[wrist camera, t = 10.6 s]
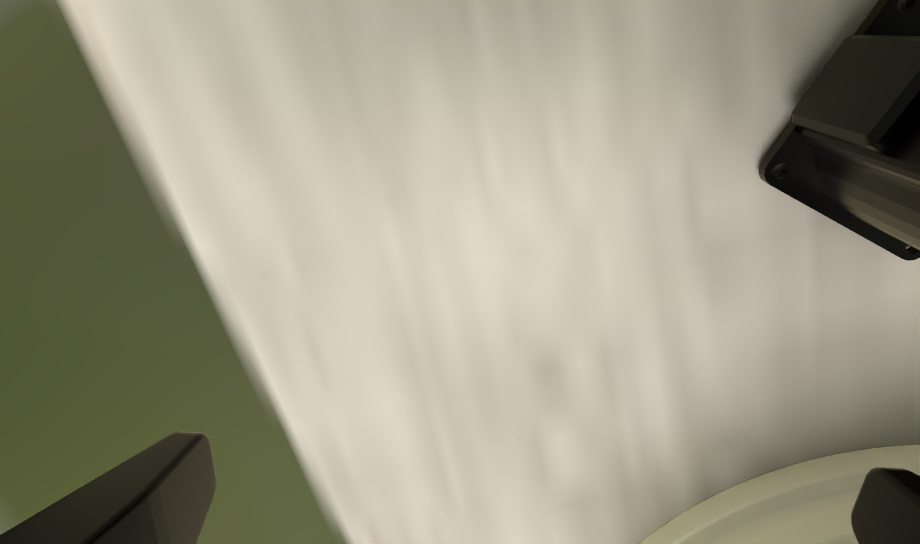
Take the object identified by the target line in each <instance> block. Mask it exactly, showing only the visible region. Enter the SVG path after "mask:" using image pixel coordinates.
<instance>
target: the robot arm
mask: <svg viewBox="0 0 920 544" xmlns="http://www.w3.org/2000/svg"><path fill="white" fill-rule="evenodd" d="M897 2H898V0H879V2H878V3H877V4H876V6H875V7H874V9H873V10H872V11H871V13H870V14H869V15H868V17H867V18H866V20H865V21H864V22H863V24H862V25H861V26H860V28H859V29H858V31H857V32H856V33H855V35H854V36H853V37H849V38H846V39H845V40H844V41H843V43H842V44H841V45H840V47H839V48H838V50H837V51H836V52H835V54H834V55H833V56H832V58H831V59H830V61H829V62H828V63H827V65H826V66H825V67H824V69H823V70H822V72H821V73H820V74H819V76H818V77H817V79H816V80H815V81H814V83H813V84H812V85H811V87H810V88H809V90H808V91H807V92H806V94H805V95H804V96H803V98H802V99H801V101H800V102H799V103H798V105H797V106H796V108H795V109H794V110H793V112H792V121H791V123H790V124H789V125H788V127H787V128H786V129H785V131H784V132H783V134H782V135H781V136H780V138H779V139H778V140H777V142H776V143H775V145H774V146H773V147H772V149H771V150H770V151H769V153H768V154H767V156H766V157H765V158H764V160H763V161H762V163H761V165H760V167H759V175H760V178H761V179H762V180H763V181H764V182H766V183H767V184H769V185H771V186H773V187H775V188H776V189H778V190H780V191H782V192H784V193H785V194H787V195H789V196H791V197H793V198H794V199H796V200H798V201H800V202H801V203H803V204H805V205H807V206H809V207H810V208H812V209H814V210H816V211H818V212H819V213H821V214H823V215H825V216H827V217H828V218H830V219H832V220H834V221H836V222H837V223H839V224H841V225H843V226H844V227H846V228H848V229H850V230H852V231H853V232H855V233H857V234H859V235H861V236H862V237H864V238H866V239H868V240H870V241H871V242H873V243H875V244H877V245H878V246H880V247H882V248H884V249H886V250H887V251H889V252H891V253H893V254H895V255H896V256H898V257H900V258H902V259H904V260H915V259H917V258H920V0H907V3H906V5H905V7H904V8H903V9H902V10H901V11H899V9H898V8H897ZM781 163H782V166H783V169H782V171H781V173H780V174H778V175H777V176H772V171H773V168H774V167H775V166H776V165H778V164H781ZM907 244H909V245H910V246H911V247H909V248H908V249H906V245H907ZM215 490H216V475H215V469H214V463H213V457H212V451H211V445H210V441H209V438H208V436H207V435H206V434H204V433H201V432H184V431H179V432H174V433H172V434H170V435H168V436H167V437H165V438H163V439H162V440H160V441H158V442H157V443H155V444H153V445H152V446H150V447H148V448H146V449H145V450H143V451H141V452H140V453H138V454H136V455H135V456H133V457H131V458H130V459H128V460H126V461H125V462H123V463H121V464H120V465H118V466H116V467H114V468H113V469H111V470H109V471H108V472H106V473H104V474H103V475H101V476H99V477H97V478H96V479H94V480H92V481H91V482H89V483H87V484H86V485H84V486H83V487H81V488H79V489H77V490H76V491H74V492H72V493H70V494H69V495H67V496H65V497H64V498H62V499H60V500H59V501H57V502H55V503H54V504H52V505H50V506H48V507H47V508H45V509H43V510H42V511H40V512H38V513H37V514H35V515H33V516H32V517H30V518H29V519H27V520H25V521H23V522H22V523H20V524H18V525H16V526H15V527H13V528H11V529H10V530H8V531H6V532H5V533H3V534H1V535H0V544H197V542H198V539H199V536H200V533H201V531H202V528H203V525H204V522H205V519H206V517H207V514H208V512H209V509H210V506H211V503H212V501H213V498H214V494H215ZM851 525H852V529H853V532H854V535H855V537H856V539H857V541H858V544H920V476H919V475H917V474H915V473H913V472H911V471H909V470H906V469H902V468H885V467H876V468H872V469H871V470H870V471H869V472H868V473H867V474H866V476H865V479H864V481H863V484H862V486H861V489H860V491H859V494H858V496H857V499H856V502H855V504H854V507H853V509H852V513H851Z"/></svg>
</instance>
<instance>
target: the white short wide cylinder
mask: <svg viewBox="0 0 920 544" xmlns="http://www.w3.org/2000/svg"><path fill="white" fill-rule="evenodd" d="M876 467H885V468H902V469H906V470H909V471H911V472H913V473H915V474H917V475H919V476H920V445H903V446H890V447H881V448H872V449H865V450H858V451H851V452H846V453H841V454H835V455H830V456H826V457H822V458H817V459H813V460H809V461H805V462H802V463H798V464H794V465H791V466H788V467H784V468H781V469H778V470H775V471H772V472H769V473H766V474H763V475H761V476H758V477H755V478H753V479H750V480H748V481H745V482H743V483H740V484H738V485H736V486H733V487H731V488H729V489H727V490H725V491H722V492H720V493H718V494H716V495H714V496H712V497H710V498H708V499H706V500H704V501H702V502H701V503H699V504H697V505H695V506H694V507H692V508H690V509H688V510H687V511H685V512H683V513H682V514H680V515H678V516H677V517H675V518H674V519H672V520H671V521H669V522H668V523H666V524H665V525H663V526H662V527H661V528H659V529H658V530H656V531H655V532H654V533H652V534H651V535H650V536H649V537H647V538H646V539H645V540H644V541H642V542H641V543H640V544H858V541H857V539H856V537H855V535H854V532H853V529H852V525H851V513H852V509H853V507H854V504H855V502H856V499H857V496H858V494H859V491H860V489H861V486H862V484H863V481H864V479H865V476H866V474H867V473H868V472H869V471H870V470H871V469H872V468H876Z"/></svg>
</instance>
